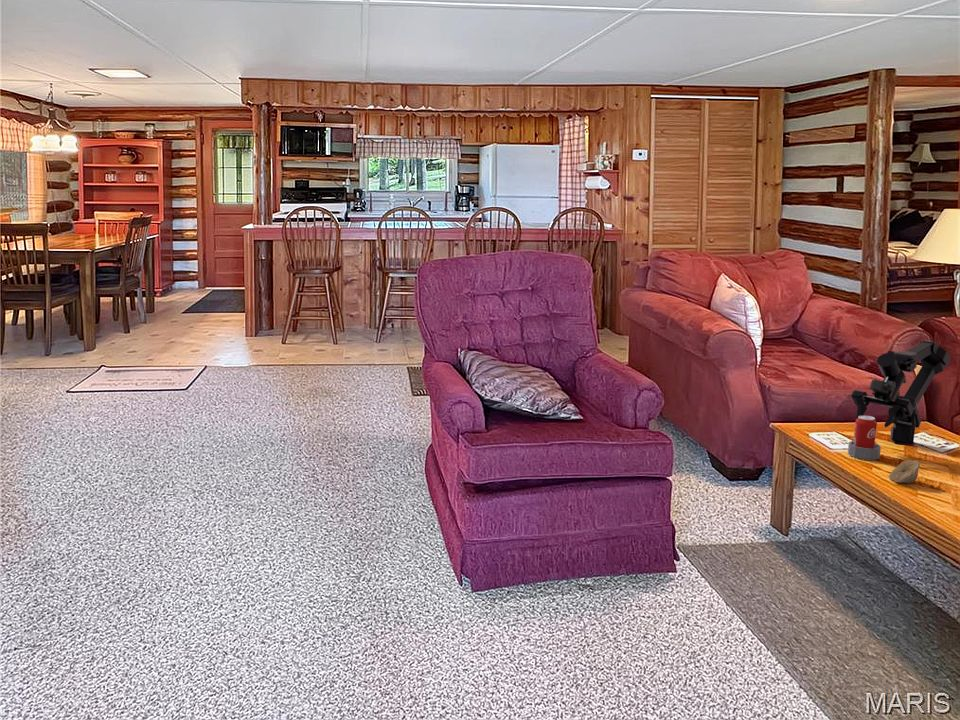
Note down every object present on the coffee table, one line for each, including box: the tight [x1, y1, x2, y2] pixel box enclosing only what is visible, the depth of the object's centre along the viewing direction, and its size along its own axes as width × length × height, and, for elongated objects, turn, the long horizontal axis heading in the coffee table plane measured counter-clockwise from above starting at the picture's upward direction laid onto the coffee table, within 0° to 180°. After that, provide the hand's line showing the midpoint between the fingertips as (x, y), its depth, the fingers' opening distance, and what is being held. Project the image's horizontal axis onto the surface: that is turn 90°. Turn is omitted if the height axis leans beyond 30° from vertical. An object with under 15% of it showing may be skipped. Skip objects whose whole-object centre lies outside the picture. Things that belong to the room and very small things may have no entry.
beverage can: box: [852, 414, 878, 448], centre depth 289 cm, size 6×6×12 cm
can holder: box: [847, 440, 882, 461], centre depth 289 cm, size 9×9×4 cm
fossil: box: [888, 460, 921, 484], centre depth 264 cm, size 9×4×10 cm
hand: (871, 423), depth 289 cm, fingers open, 9 cm apart
